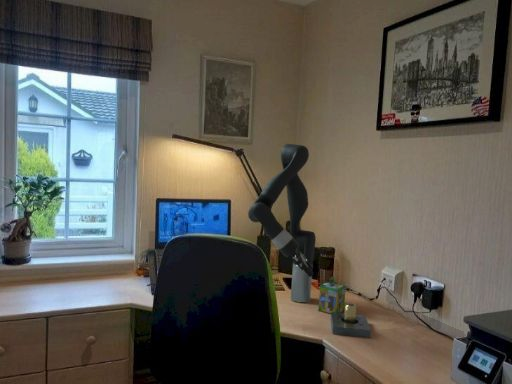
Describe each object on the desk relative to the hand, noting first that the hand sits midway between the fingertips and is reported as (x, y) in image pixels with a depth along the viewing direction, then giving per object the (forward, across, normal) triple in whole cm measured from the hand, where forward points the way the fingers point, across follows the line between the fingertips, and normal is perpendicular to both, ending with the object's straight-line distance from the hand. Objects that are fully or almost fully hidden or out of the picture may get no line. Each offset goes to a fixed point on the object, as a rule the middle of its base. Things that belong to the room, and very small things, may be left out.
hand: (311, 272), depth 167 cm
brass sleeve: (+26, -2, +3) cm, 26 cm away
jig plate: (+26, -2, +3) cm, 26 cm away
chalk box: (+22, +17, +8) cm, 29 cm away
